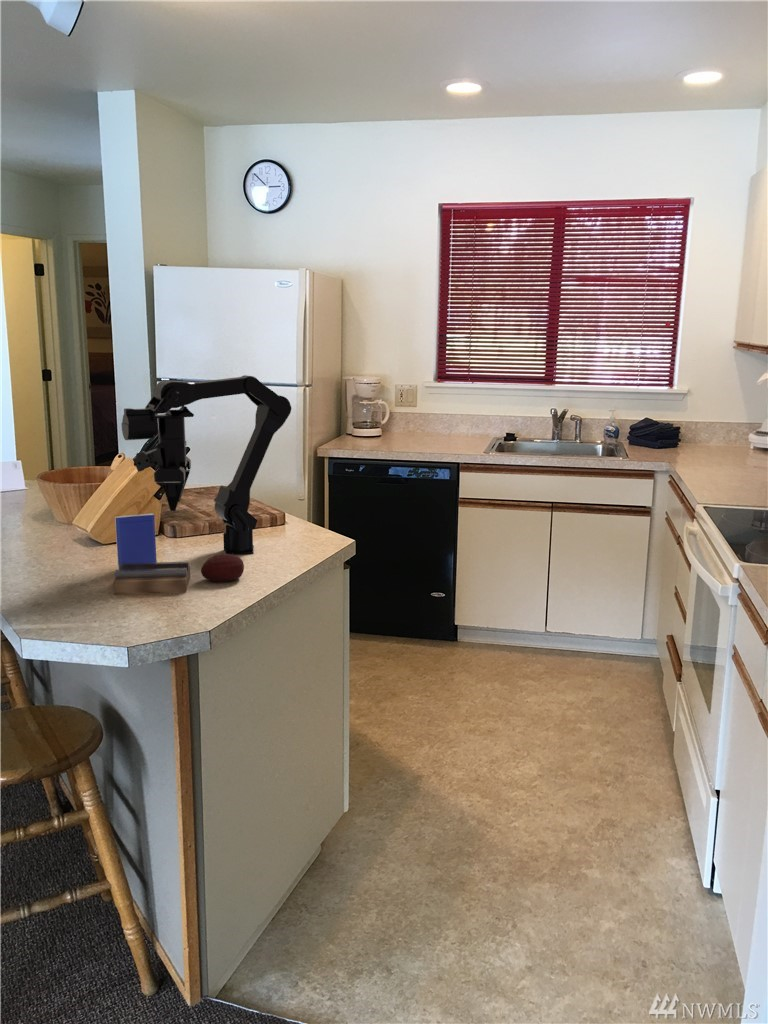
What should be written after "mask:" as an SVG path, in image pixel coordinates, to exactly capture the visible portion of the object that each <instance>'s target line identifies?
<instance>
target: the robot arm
mask: <svg viewBox="0 0 768 1024" xmlns="http://www.w3.org/2000/svg"><path fill="white" fill-rule="evenodd" d="M242 394H243V395H246V397H247V398H248V399H249V400H250V401H251V402H252V403H253V404H254V405H255V406H256V412H255V424H254V425H255V426H254V429H253V432H252V434H251V436H250V438H249V441H248V443H247V445H246V448H245V450H244V453H243V455H242V456H241V458H240V459H241V460H240V461H239V464H238V466H237V468H236V471H235V474H234V475H233V477H232V478H233V479H232V480H231V481H230V483H229V484H228V485H226V487H225V486H224V485H220V486H219V488H218V492H217V494H216V497H215V498H214V499H213V502H215V503H214V507H213V509H214V511H215V514H216V515H217V517H220V519H221V520H222V522H223V524H225V530H224V531H223V533H222V534H223V535H222V536H223V551H225V554H232V555H252V554H254V551H255V549H254V532H253V530H255V529H256V527H257V524H258V520H257V518H256V517H254V515H252V514H251V513H250V512H248V511H249V509H250V508H249V507H250V503H251V488H252V485H253V483H254V481H255V479H256V477H257V474H258V472H259V469H260V467H261V465H262V463H263V460H264V459H265V455H266V452H267V451H268V449H269V446H270V443H271V442H272V439H273V437H274V435H275V434H276V433H277V432H278V431H279V429H280V428H281V427H283V426H284V424H285V423H286V422H287V419H288V418H289V416H290V415H291V412H292V405H291V403H290V400H289V399H288V398H287V397H285V396H283V395H279V394H278V393H276V392H275V391H273V390H272V389H270V388H269V387H268V386H266V385H265V384H263V383H262V382H261V381H260V380H259V379H258V378H257V377H256V376H253V375H247V374H246V375H245V374H244V375H242V376H238V377H228V378H219V379H211V380H202V381H194V382H193V381H183V380H169V379H168V380H167V379H164V380H161V381H159V382H157V383H156V385H155V387H154V389H153V395H152V396H151V398H150V400H149V401H148V403H147V404H146V405H145V407H144V408H130V407H128V408H124V409H123V415H122V422H121V423H120V424H121V425H120V426H121V432H122V436H123V439H124V440H125V441H137V440H139V441H140V440H152V439H154V436H156V435H157V434H158V443H157V444H156V447H155V448H154V449H151V450H148V451H144V450H142V451H140V452H136V453H135V456H134V457H133V458H132V461H133V466H134V467H136V470H137V472H142V471H144V470H146V469H148V468H150V467H151V468H152V467H155V466H156V467H157V469H156V470H155V471H154V474H153V476H154V483H155V484H156V485H158V486H160V487H161V488H162V489H163V490H164V494H165V497H166V501H167V504H168V508H169V510H170V511H171V512H172V511H173V512H174V511H176V510H177V507H178V505H179V503H180V502H181V499H182V495H183V493H184V490H185V486H186V485H187V484H186V483H187V481H188V478H189V476H190V473H191V468H192V461H191V458H189V457H188V456H187V448H186V446H187V440H186V429H185V428H186V427H185V426H186V424H185V423H186V421H185V418H193V417H194V416H195V414H194V413H193V412H192V411H190V409H189V408H188V407H187V406H188V405H191V404H193V403H194V402H197V401H199V400H204V399H212V398H213V399H214V398H219V397H220V398H221V397H228V396H236V395H242ZM177 408H178V409H177Z"/></svg>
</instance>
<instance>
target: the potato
mask: <svg viewBox="0 0 768 1024" xmlns="http://www.w3.org/2000/svg"><path fill="white" fill-rule="evenodd" d="M244 570H245V564H244V562H243V560H242V559H241V557H239V556H238V555H236V554H226V553H220V554H219V553H218V554H215V555H213V556H211V557H209V558H208V559H207V560H205V562H204V563H203V564H202V567H201V571H200V573H201V576H202V577H204V579H206V580H209V581H210V582H215V583H216V582H217V583H226V582H231V581H235V580H238V579H239V578H241V577H242V576H243V573H244Z"/></svg>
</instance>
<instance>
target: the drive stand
mask: <svg viewBox="0 0 768 1024" xmlns="http://www.w3.org/2000/svg"><path fill="white" fill-rule="evenodd" d="M189 562H190V561H168V562H167V561H165V562H163V561H161V562H156V563H122V564H119V570H118V569H116V570H115V571H114V579H113V593H114V594H113V595H114V596H121V595H125V596H127V595H150V594H152V595H153V594H154V595H155V594H180V593H181V594H182V593H187V591H188V587H189V584H190V580H191V566H190V563H189Z"/></svg>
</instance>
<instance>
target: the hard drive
mask: <svg viewBox="0 0 768 1024" xmlns="http://www.w3.org/2000/svg"><path fill="white" fill-rule="evenodd" d="M155 520H156V519H155V514H154V513H143V514H141V513H140V514H132V515H130V514H129V515H120V516H119V515H118V516H114V522H115V523H114V525H115V540H116V555H117V570H119V564H122V563H156V562H157V561H158V560H157V544H156V543H157V542H156V527H155V526H156V525H155V524H156V523H155Z"/></svg>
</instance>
